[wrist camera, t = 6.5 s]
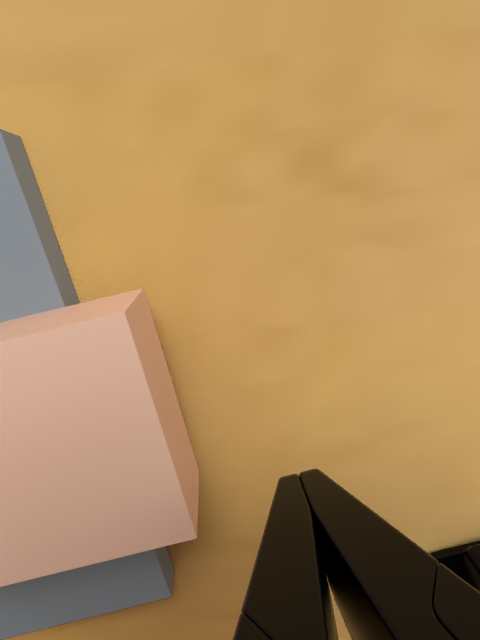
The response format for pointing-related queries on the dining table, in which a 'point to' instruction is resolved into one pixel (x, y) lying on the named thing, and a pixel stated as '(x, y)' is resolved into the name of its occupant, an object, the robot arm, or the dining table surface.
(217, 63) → the dining table surface
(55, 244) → the mat
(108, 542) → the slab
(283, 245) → the dining table surface
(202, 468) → the dining table surface
